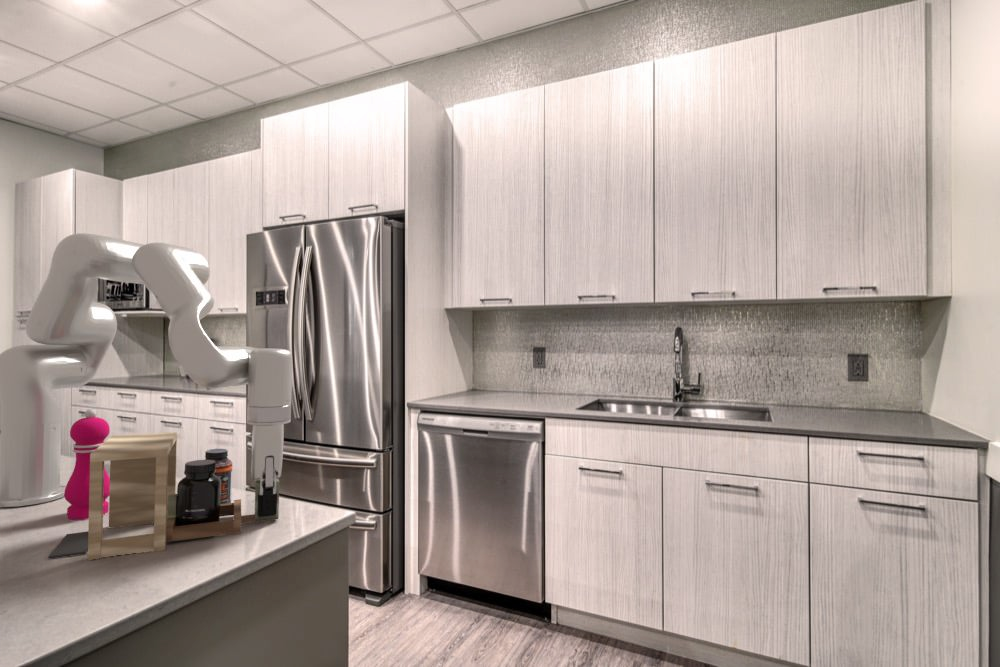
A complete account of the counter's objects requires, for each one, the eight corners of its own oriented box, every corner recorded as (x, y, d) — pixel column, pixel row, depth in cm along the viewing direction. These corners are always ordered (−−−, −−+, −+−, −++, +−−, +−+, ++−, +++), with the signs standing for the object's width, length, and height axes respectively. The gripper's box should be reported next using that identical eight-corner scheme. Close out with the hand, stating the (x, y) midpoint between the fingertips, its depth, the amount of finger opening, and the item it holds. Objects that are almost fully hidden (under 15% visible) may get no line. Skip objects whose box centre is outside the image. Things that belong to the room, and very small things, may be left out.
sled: (171, 520, 98) (172, 482, 98) (276, 508, 106) (276, 472, 106) (163, 542, 88) (164, 499, 88) (280, 527, 96) (281, 488, 96)
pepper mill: (85, 522, 97) (88, 412, 98) (53, 518, 99) (56, 410, 99) (121, 510, 105) (123, 407, 105) (90, 506, 106) (93, 405, 106)
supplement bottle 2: (201, 513, 104) (203, 454, 104) (194, 505, 108) (196, 449, 108) (235, 507, 107) (236, 451, 108) (226, 500, 112) (228, 446, 112)
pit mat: (66, 536, 91) (66, 534, 91) (100, 532, 93) (100, 530, 93) (48, 558, 82) (48, 556, 82) (85, 554, 84) (85, 551, 84)
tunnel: (110, 526, 96) (112, 435, 96) (175, 518, 100) (177, 432, 100) (87, 560, 81) (90, 454, 82) (164, 550, 86) (167, 449, 86)
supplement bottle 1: (186, 540, 90) (188, 469, 90) (168, 531, 94) (170, 462, 94) (227, 529, 96) (229, 461, 96) (208, 520, 100) (210, 456, 100)
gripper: (246, 409, 105) (244, 503, 105) (247, 422, 91) (244, 530, 91) (287, 408, 109) (285, 499, 109) (294, 420, 94) (292, 524, 94)
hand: (266, 512), depth 100 cm, fingers closed on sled, 2 cm apart
